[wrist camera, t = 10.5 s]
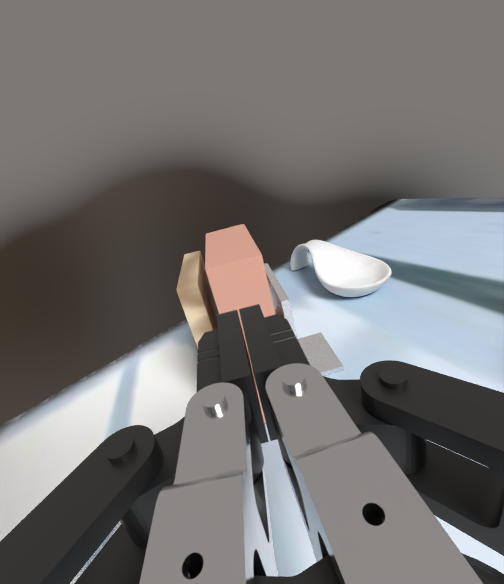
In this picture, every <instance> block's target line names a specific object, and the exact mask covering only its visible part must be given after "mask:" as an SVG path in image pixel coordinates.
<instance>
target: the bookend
mask: <svg viewBox="0 0 504 584" xmlns="http://www.w3.org/2000/svg"><path fill="white" fill-rule="evenodd" d="M264 267H265V272H266V276H267V280H268V285H269V289H270V293H271V298H272V302H273V306H274V311H275V314H279V315H280V316H282V317H284V318H285V319H287V320H288V322H289V324H290V326H291V328H292V330H293V332H294V334H295V336H296V338H297V335H296V330H295V326H294V321H293V316H292V311H291V306H290V302H289V299H288V297H287V295H286V294H285V292H284V290H283V289H282V287H281V285H280V284H279V282H278V280H277V278H276V277H275V275H274V273H273V272H272V270H271V268H270V267H269V265H268V264H264ZM297 340H298V342H299V344H300V346H301V348H302V350H303V352H304V354H305V356H306V358H307V360H308V362H309V364H310V365H311V366H312V367H314V368H316V369H317V370H318V371H319V372H320V373H321V374H322V376H325V375H328V374H332V373H336V372H339V371H343V370H344V368H343V365H342V364H341V362H340V361H339V359H338V358H337V356H336V355H335V353H334V352H333V350H332V349H331V347H330V346H329V344H328V343H327V341H326V340H325V338H324V337H323V335H322V334H321V333H318V334H314V335H311V336H307V337H304V338H300V339H297Z"/></svg>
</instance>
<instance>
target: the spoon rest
mask: <svg viewBox="0 0 504 584" xmlns="http://www.w3.org/2000/svg"><path fill="white" fill-rule="evenodd" d="M308 250H309V252H310V254H311V257H312V261H313V266H314V269H315V272H316V275H317V277H318V279H319V280H320V282H321V283H322V285H323V286H324V287H325V288H326V289H327V290H329V291H330V292H332V293H334V294H336V295H339V296H344V297H359V296H364V295H367V294H370V293H372V292H374V291H376V290H378V289H379V288H380V287H382V286H383V285H384V284H385V283H386V282H387V280H388V279H389V277H390V276H391V269H390V267H389V266H388V265H387V264H386V263H384V262H383V261H381V260H378V259H376V258H373V257H370V256H367V255H364V254H361V253H357V252H354V251H351V250H348V249H345V248H342V247H339V246H336V245H333V244H331V243H327V242H324V241H320V240H312V241H309V242H307V243H306V244H300V245H298V246H297V247H296V248H295V249H294V251H293V253H292V256H291V270H292V271H295V270H299V269H301V268H303V267H306V266H308V265H309V258H308Z"/></svg>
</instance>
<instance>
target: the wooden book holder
mask: <svg viewBox="0 0 504 584" xmlns="http://www.w3.org/2000/svg"><path fill="white" fill-rule="evenodd" d="M177 293H178V296H179V298H180V301H181V304H182V307H183V309H184V312H185V315H186V318H187V320H188V323H189V326H190V329H191V331H192V334H193V337H194V340H195V342H196V345H197V348H198V342H199V340H200V339H201V337H202V336H203V334H204V332H208V331H212V330H216V329H217V317H216V315H217V314H219V312H218V308H217V305H216V302H215V299H214V296H213V292H212V289H211V286H210V283H209V280H208V276H207V273H206V270H205V265H204V262H203V259H202V256H201V252H200V251H196V252H193V253H189V254H185V255H184V259H183V264H182V268H181V272H180V277H179V281H178V285H177Z"/></svg>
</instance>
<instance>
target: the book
mask: <svg viewBox="0 0 504 584" xmlns="http://www.w3.org/2000/svg"><path fill="white" fill-rule="evenodd" d="M205 265H206V266H205V270H206V273H207V276H208V280H209V283H210V286H211V289H212V292H213V296H214V299H215V302H216V305H217V308H218V312H219V314H221V313H225V312H229V311H233V310H237V311H238V315H239V319H240V323H241V327H242V330H243V325H242V321H241V317H240V312H239V309H241V308H245V307H249V306H253V305H257V304H259V305H260V307H261V310H262V313H263V315H264V317H267V316H271V315H275V311H274V306H273V302H272V298H271V293H270V289H269V285H268V280H267V276H266V272H265V267H264V263H263V259H262V255H261V253H260V251H259V250H258V248H257V246H256V244H255V243H254V241H253V239H252V237H251V236H250V234H249V232H248V230H247V229H246V227H245V225H244V224H241V225H238V226H234V227H230V228H226V229H222V230H219V231H215V232H211V233H207V234H206V262H205ZM243 334H244V330H243ZM244 338H245V334H244ZM245 342H246V339H245ZM246 346H247V343H246ZM247 350H248V347H247ZM248 354H249V352H248ZM249 358H250V356H249ZM250 362H251V361H250ZM251 367H252V365H251ZM252 371H253V369H252ZM253 375H254V374H253ZM254 380H255V378H254ZM255 384H256V382H255ZM256 389H257V385H256ZM257 393H258V389H257ZM258 398H259V402H260V407H261V411H262V415H263V420H264V424H266V420H265V417H264V413H263V409H262V405H261V401H260V397H259V393H258Z"/></svg>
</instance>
